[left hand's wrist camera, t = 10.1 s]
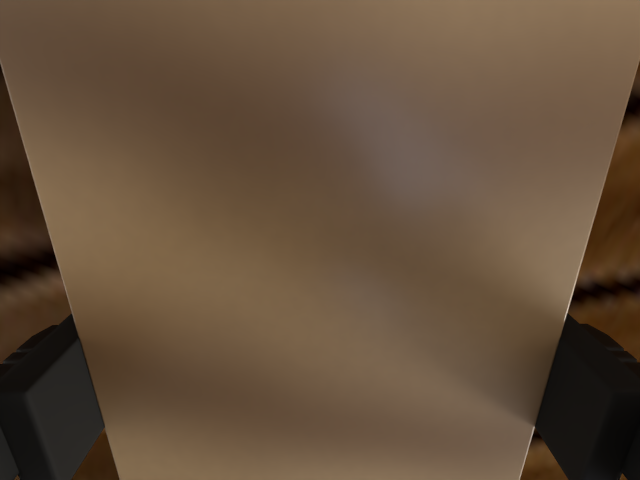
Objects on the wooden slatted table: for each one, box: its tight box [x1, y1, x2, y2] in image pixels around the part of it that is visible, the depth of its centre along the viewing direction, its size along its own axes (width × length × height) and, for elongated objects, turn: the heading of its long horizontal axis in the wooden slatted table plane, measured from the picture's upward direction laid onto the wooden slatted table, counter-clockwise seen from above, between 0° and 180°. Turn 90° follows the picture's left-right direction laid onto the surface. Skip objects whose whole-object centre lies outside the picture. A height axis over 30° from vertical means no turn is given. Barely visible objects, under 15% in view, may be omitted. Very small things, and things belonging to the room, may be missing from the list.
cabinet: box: [0, 0, 640, 480], centre depth 11 cm, size 20×11×9 cm, turn 0°
